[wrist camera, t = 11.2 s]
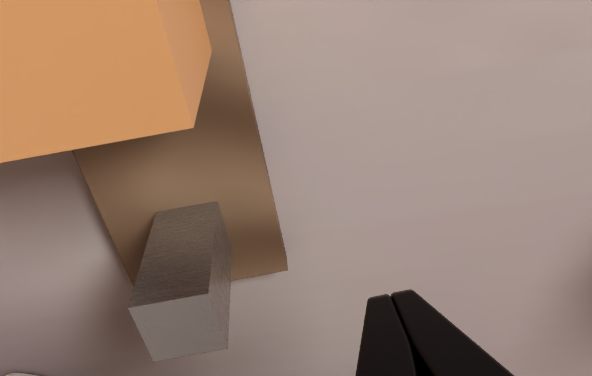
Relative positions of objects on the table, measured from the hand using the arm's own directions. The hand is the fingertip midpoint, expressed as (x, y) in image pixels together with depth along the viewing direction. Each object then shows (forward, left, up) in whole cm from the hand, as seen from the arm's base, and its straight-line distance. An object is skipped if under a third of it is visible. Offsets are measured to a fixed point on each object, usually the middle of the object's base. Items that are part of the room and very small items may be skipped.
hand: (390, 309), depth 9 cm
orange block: (-1, +8, -11) cm, 13 cm away
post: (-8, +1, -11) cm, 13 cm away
